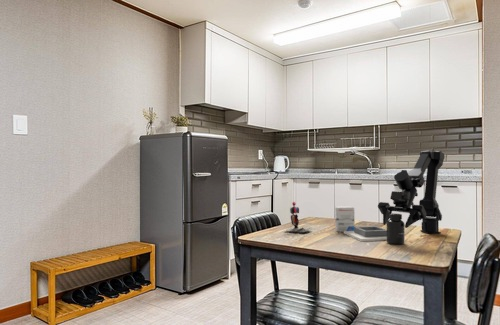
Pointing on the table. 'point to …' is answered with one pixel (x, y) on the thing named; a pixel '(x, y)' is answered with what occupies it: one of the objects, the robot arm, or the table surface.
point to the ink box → (344, 219)
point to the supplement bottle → (395, 229)
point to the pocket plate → (368, 233)
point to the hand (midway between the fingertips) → (394, 225)
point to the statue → (296, 221)
